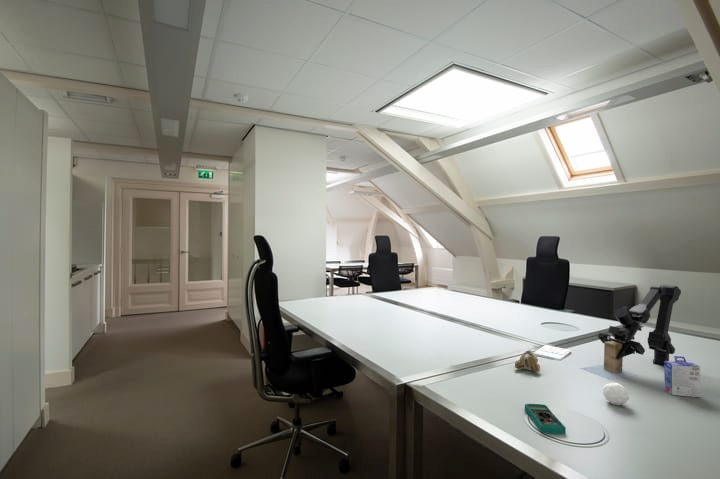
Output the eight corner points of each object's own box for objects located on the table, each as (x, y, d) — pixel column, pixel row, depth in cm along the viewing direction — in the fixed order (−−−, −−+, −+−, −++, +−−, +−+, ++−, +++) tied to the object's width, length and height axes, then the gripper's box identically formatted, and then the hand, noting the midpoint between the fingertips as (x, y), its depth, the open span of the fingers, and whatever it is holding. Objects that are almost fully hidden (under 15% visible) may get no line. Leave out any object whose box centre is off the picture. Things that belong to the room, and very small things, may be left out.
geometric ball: (609, 408, 133) (603, 386, 138) (634, 406, 128) (627, 384, 133) (603, 403, 129) (597, 380, 134) (629, 401, 124) (621, 378, 129)
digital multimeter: (541, 434, 110) (541, 425, 110) (523, 410, 126) (524, 402, 126) (567, 436, 110) (567, 426, 110) (546, 411, 125) (546, 403, 125)
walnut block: (611, 368, 166) (612, 340, 166) (622, 372, 161) (622, 344, 161) (603, 369, 165) (604, 341, 164) (614, 373, 160) (615, 345, 160)
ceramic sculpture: (542, 348, 169) (539, 358, 156) (542, 365, 169) (539, 377, 156) (518, 344, 174) (513, 354, 162) (518, 361, 175) (513, 373, 162)
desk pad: (607, 364, 172) (607, 364, 172) (637, 375, 158) (637, 374, 158) (580, 368, 166) (580, 368, 166) (609, 380, 153) (609, 379, 153)
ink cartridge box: (691, 391, 142) (691, 356, 142) (701, 398, 136) (701, 361, 136) (662, 389, 144) (663, 354, 144) (672, 395, 138) (672, 359, 138)
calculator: (571, 353, 190) (571, 349, 190) (560, 362, 176) (560, 358, 176) (545, 347, 200) (545, 344, 200) (532, 355, 186) (532, 352, 186)
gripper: (600, 315, 173) (583, 340, 169) (640, 324, 155) (623, 352, 152) (611, 330, 176) (595, 354, 172) (652, 341, 158) (635, 368, 154)
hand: (610, 356), depth 162 cm, fingers closed on walnut block, 5 cm apart
